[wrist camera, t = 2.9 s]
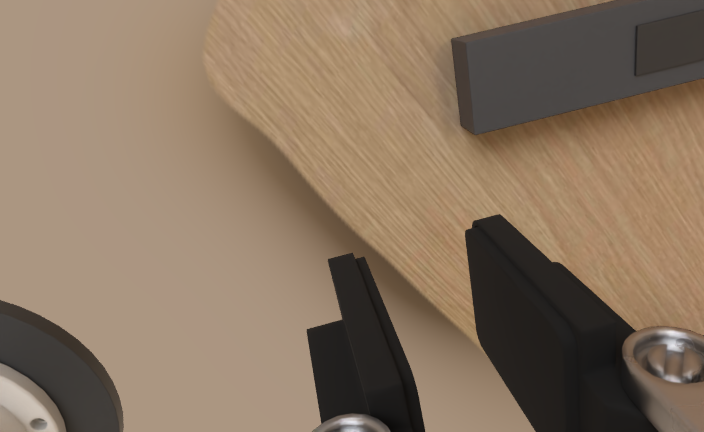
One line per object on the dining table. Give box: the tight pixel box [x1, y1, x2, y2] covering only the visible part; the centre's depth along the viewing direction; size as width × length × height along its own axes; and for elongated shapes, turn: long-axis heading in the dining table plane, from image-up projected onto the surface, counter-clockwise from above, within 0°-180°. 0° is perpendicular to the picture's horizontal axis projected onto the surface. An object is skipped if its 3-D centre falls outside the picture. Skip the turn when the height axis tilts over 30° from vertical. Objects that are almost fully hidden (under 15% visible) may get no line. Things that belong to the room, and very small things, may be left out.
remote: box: [451, 0, 704, 135], centre depth 27 cm, size 16×4×2 cm, turn 101°
